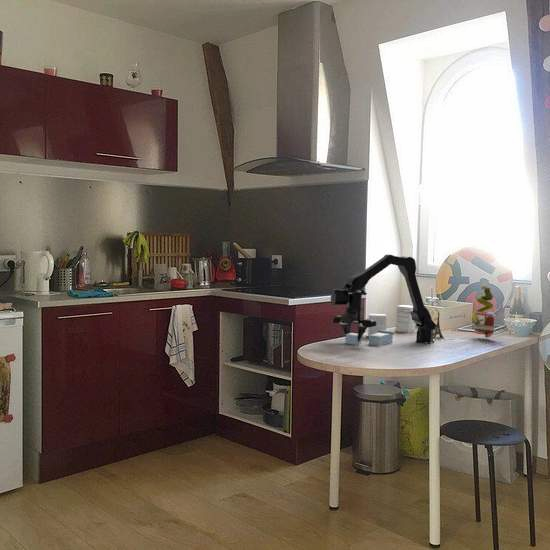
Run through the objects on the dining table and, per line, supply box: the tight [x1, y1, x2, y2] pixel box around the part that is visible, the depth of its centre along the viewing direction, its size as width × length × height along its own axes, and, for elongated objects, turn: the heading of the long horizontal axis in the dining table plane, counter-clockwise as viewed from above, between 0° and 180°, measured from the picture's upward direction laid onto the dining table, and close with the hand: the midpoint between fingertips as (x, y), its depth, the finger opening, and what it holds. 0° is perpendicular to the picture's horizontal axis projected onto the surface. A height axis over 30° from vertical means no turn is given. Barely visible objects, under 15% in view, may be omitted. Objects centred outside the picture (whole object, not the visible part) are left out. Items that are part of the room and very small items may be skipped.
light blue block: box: [344, 332, 362, 346], centre depth 276 cm, size 5×5×4 cm
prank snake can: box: [471, 284, 495, 338], centre depth 300 cm, size 12×10×25 cm
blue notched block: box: [368, 330, 396, 347], centre depth 279 cm, size 7×13×5 cm, turn 144°
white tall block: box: [395, 304, 416, 334], centre depth 316 cm, size 7×7×13 cm
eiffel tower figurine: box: [433, 312, 454, 342], centre depth 299 cm, size 15×10×13 cm
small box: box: [367, 313, 387, 338], centre depth 295 cm, size 8×6×10 cm
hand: (353, 341), depth 276 cm, fingers closed on light blue block, 5 cm apart
